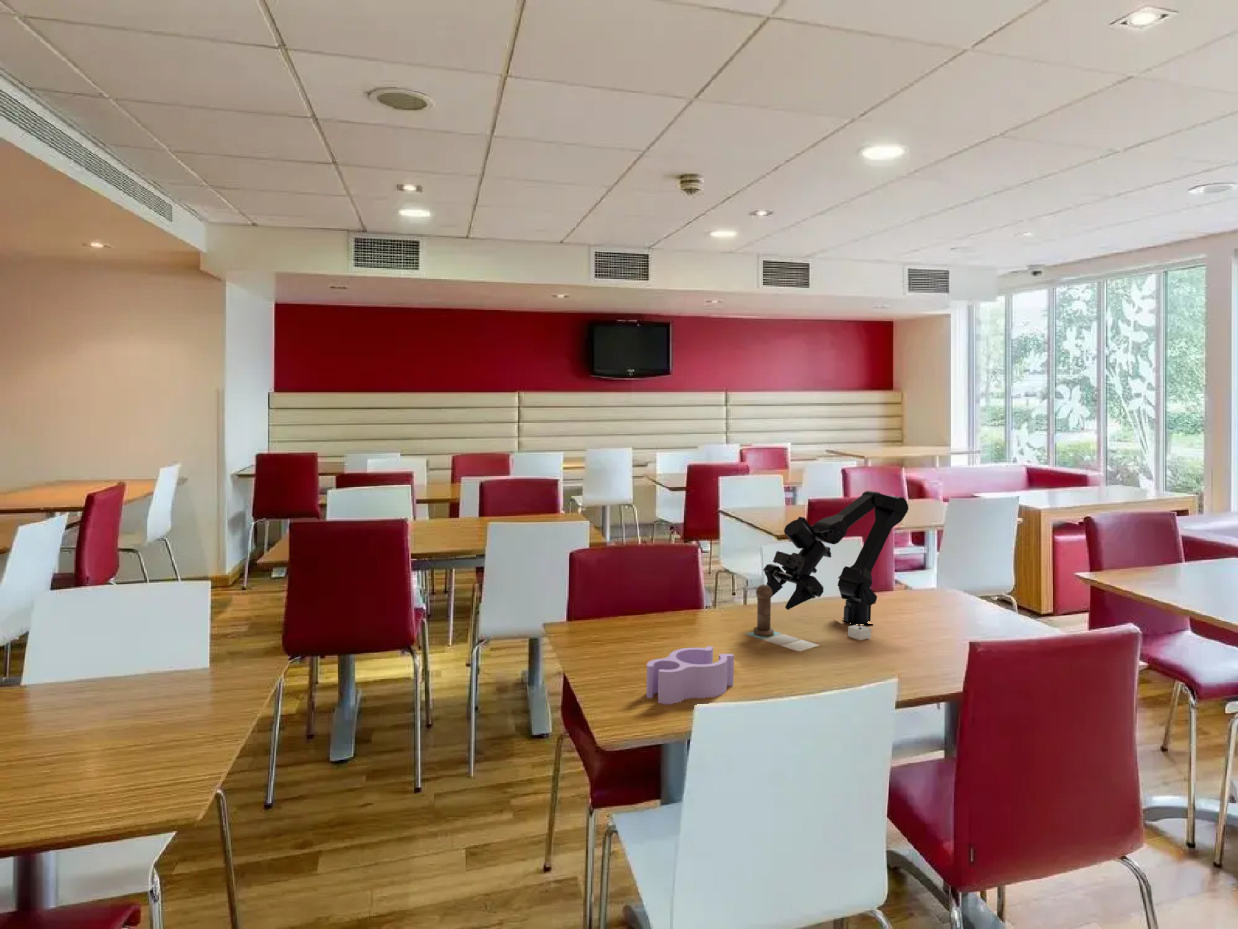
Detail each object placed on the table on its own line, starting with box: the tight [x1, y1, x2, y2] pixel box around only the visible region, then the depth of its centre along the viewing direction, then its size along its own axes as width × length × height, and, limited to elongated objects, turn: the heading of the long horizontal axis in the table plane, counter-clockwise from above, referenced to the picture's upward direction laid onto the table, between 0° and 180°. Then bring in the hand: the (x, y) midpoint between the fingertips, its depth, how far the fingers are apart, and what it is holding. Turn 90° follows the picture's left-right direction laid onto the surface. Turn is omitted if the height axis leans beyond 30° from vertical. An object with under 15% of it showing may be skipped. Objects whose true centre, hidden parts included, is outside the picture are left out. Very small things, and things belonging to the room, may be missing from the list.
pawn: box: [753, 584, 775, 638], centre depth 195 cm, size 5×5×13 cm
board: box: [746, 630, 820, 652], centre depth 191 cm, size 19×9×1 cm, turn 38°
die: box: [847, 624, 872, 641], centre depth 194 cm, size 4×4×4 cm
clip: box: [646, 645, 735, 705], centre depth 160 cm, size 20×12×7 cm, turn 127°
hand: (774, 604), depth 197 cm, fingers open, 9 cm apart
